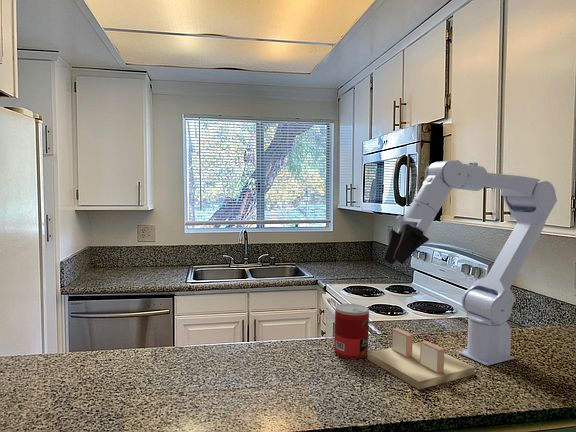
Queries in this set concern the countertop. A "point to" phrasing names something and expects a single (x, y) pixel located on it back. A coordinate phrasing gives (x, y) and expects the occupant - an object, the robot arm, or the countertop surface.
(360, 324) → the canned food
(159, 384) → the countertop surface
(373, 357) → the board
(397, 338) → the tile
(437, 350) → the tile
